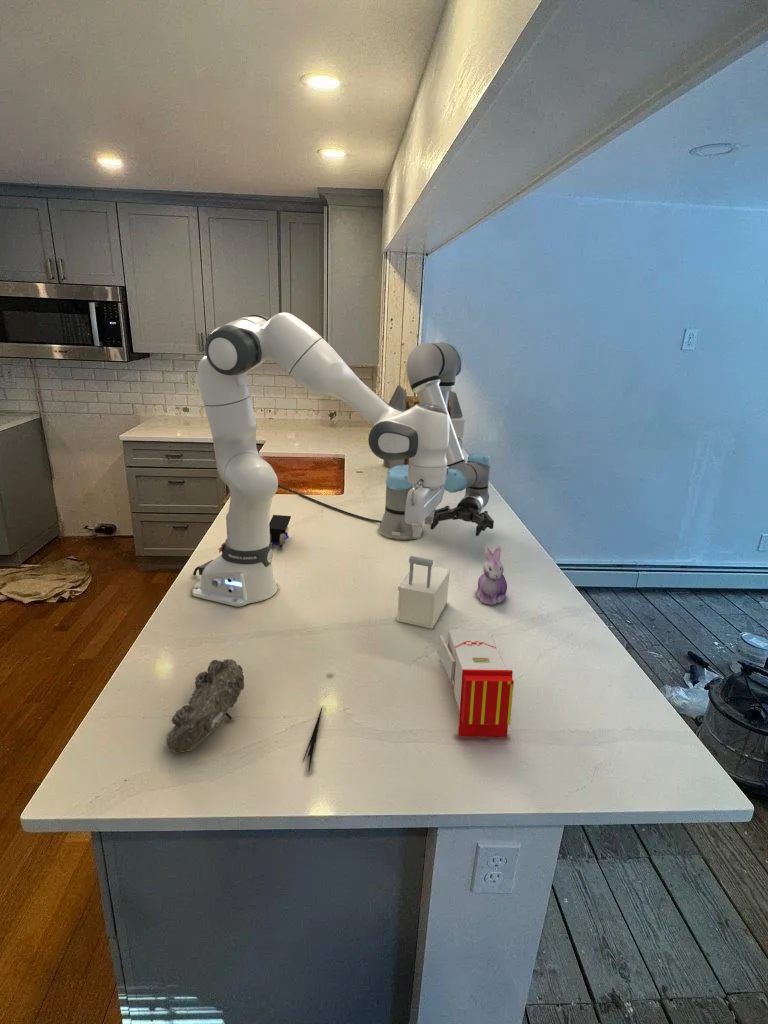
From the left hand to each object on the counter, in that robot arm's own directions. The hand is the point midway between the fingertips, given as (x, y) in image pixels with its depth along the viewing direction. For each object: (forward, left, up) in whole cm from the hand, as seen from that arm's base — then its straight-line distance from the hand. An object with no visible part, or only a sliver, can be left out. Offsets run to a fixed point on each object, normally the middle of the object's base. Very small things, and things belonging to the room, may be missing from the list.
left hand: (422, 530), depth 136 cm
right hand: (+7, +30, -10) cm, 33 cm away
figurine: (+19, +17, -25) cm, 36 cm away
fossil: (-34, -44, -25) cm, 61 cm away
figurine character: (-50, +39, -25) cm, 68 cm away
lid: (+1, +5, -16) cm, 17 cm away
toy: (+14, -26, -25) cm, 39 cm away
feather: (-14, -41, -25) cm, 50 cm away
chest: (+1, +5, -25) cm, 26 cm away
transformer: (-14, +138, -25) cm, 141 cm away
